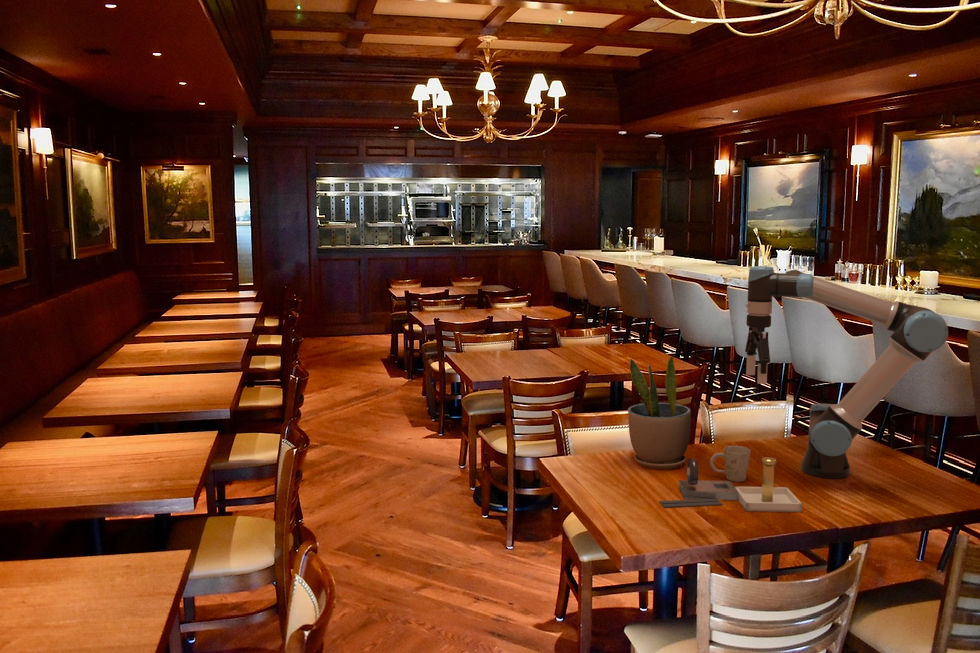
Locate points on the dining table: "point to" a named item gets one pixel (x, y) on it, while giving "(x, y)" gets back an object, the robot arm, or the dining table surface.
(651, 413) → the potted plant
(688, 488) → the block
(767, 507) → the tray
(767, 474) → the pin
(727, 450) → the mug
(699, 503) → the pair of grey strips
